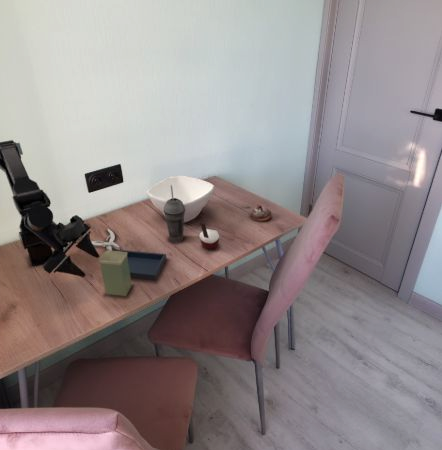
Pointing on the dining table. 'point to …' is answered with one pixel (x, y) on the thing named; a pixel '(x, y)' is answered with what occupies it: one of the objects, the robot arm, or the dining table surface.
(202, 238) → the cocoa
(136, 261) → the tray
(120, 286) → the tea tin
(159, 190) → the bowl
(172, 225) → the beverage cup
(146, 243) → the dining table surface
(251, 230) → the dining table surface
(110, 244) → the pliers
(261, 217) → the pastry
